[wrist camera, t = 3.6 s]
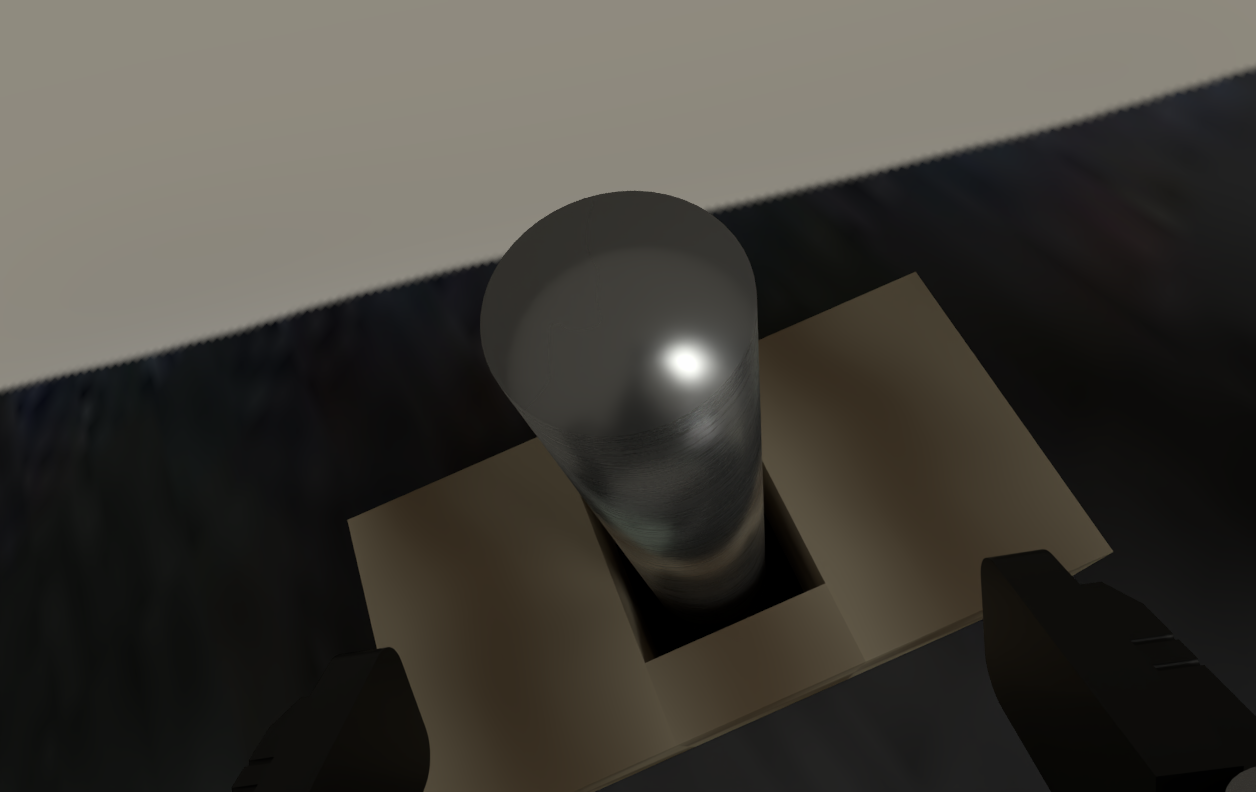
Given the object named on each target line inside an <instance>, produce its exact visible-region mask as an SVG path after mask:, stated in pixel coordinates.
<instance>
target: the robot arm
mask: <svg viewBox="0 0 1256 792" xmlns="http://www.w3.org/2000/svg"><path fill="white" fill-rule="evenodd" d="M981 591H982V608H983V625H984V642H985V656H986V663H987V668H988V672H989V676H990V680H991V683H992V686H993V689H994V692H995V694H996V697H997V699H998V701H999V703H1000V705H1001V707H1002V709H1003V710H1004V712H1005V714H1006V716H1007V717H1008V719H1009V721H1010V722H1011V724H1012V726H1013V728H1014V729H1015V731H1016V733H1017V734H1018V736H1019V738H1020V739H1021V741H1022V743H1023V745H1024V746H1025V748H1026V750H1027V751H1028V753H1029V755H1030V757H1031V758H1032V760H1033V762H1034V763H1035V765H1036V767H1037V768H1038V770H1039V772H1040V774H1041V775H1042V777H1043V779H1044V780H1045V782H1046V784H1047V786H1048V787H1049V789H1050V791H1051V792H1256V716H1255V715H1254V714H1253V713H1252V712H1251V711H1250V710H1249V709H1248V708H1247V707H1246V706H1245V705H1244V704H1243V703H1242V702H1241V701H1240V700H1239V699H1238V698H1237V697H1236V696H1235V695H1234V694H1233V693H1232V692H1231V691H1230V690H1229V689H1228V688H1227V687H1226V686H1225V685H1224V684H1223V683H1222V682H1221V681H1220V680H1219V679H1218V678H1217V677H1216V676H1215V675H1214V674H1213V673H1212V672H1211V671H1210V670H1209V669H1208V668H1207V667H1206V666H1205V665H1201V666H1200V664H1199V662H1198V658H1197V657H1196V656H1195V655H1194V654H1193V653H1192V652H1191V651H1190V650H1189V649H1188V648H1187V647H1186V646H1185V645H1184V644H1183V643H1182V642H1181V641H1180V640H1179V639H1178V640H1175V639H1174V637H1173V633H1172V632H1171V631H1170V630H1169V629H1168V628H1167V627H1166V626H1165V625H1164V624H1163V623H1162V622H1161V621H1160V620H1159V619H1158V618H1157V617H1156V616H1155V615H1154V614H1153V613H1152V612H1151V611H1150V610H1149V609H1148V608H1147V607H1146V606H1145V605H1144V604H1142V603H1140V602H1138V601H1137V600H1135V599H1133V598H1131V597H1129V596H1127V595H1125V594H1123V593H1121V592H1119V591H1118V590H1116V589H1114V588H1112V587H1110V586H1108V585H1106V584H1104V583H1102V582H1096V583H1089V584H1083V585H1080V584H1079V583H1078V582H1077V581H1076V580H1075V579H1074V578H1073V577H1072V575H1071V574H1070V573H1069V572H1068V571H1067V570H1066V569H1065V568H1064V567H1063V565H1062V564H1061V563H1060V562H1059V561H1058V560H1057V559H1056V558H1055V557H1054V556H1053V555H1052V554H1051V553H1050V552H1049V551H1048V550H1045V549H1040V550H1034V551H1027V552H1021V553H1014V554H1008V555H1001V556H994V557H988V558H984V559H983V561H982V563H981ZM429 769H430V744H429V738H428V733H427V730H426V727H425V724H424V722H423V719H422V716H421V713H420V711H419V708H418V705H417V702H416V700H415V697H414V694H413V691H412V689H411V686H410V683H409V680H408V678H407V675H406V672H405V669H404V666H403V664H402V661H401V659H400V656H399V655H398V653H397V652H396V651H395V650H394V649H393V648H391V647H386V648H379V649H372V650H366V651H359V652H353V653H346V654H340V655H337V656H335V657H334V658H333V659H332V660H331V662H330V663H329V665H328V667H327V668H326V670H325V672H324V673H323V675H322V677H321V678H320V680H319V682H318V684H317V685H316V687H315V689H314V690H313V692H312V694H311V695H310V696H309V697H302V698H300V699H299V700H298V701H297V702H296V703H295V704H294V705H293V706H292V707H291V708H290V709H289V710H288V711H286V712H285V713H284V714H283V715H282V716H281V717H280V718H279V719H278V720H277V721H276V722H275V723H274V724H273V725H272V726H271V727H270V728H269V729H268V731H267V732H266V734H265V735H264V737H263V739H262V740H261V742H260V743H259V745H258V747H257V748H256V750H255V751H254V753H253V755H252V756H251V758H250V759H249V766H248V767H244V769H243V771H242V772H241V774H240V775H239V777H238V778H237V780H236V782H235V783H234V785H233V786H232V792H424V789H425V786H426V783H427V779H428V775H429Z"/></svg>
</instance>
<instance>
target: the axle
mask: <svg viewBox="0 0 1256 792" xmlns="http://www.w3.org/2000/svg"><path fill="white" fill-rule="evenodd" d="M480 333H481V342H482V347H483V351H484V355H485V359H486V361H487V364H488V366H489V368H490V370H491V373H492V375H493V376H494V378H495V379H496V381H497V382H498V384H499V386H500V387H501V389H502V390H503V391H504V393H505V394H506V395H507V397H508V398H509V399H510V401H511V402H512V403H513V405H514V406H515V407H516V409H517V410H518V411H519V413H520V414H521V415H522V417H523V418H524V419H525V421H526V422H527V423H528V425H529V426H530V428H531V429H532V430H533V432H534V433H535V434H536V436H537V437H538V438H539V440H540V441H541V442H542V444H543V445H544V446H545V448H546V449H547V450H548V452H549V453H550V454H551V456H552V457H553V458H554V460H555V461H556V462H557V464H558V465H559V466H560V468H561V469H562V470H563V472H564V473H565V475H566V476H567V477H568V479H569V480H570V481H571V483H572V484H573V485H574V487H575V488H576V489H577V491H578V492H579V493H580V495H581V496H582V497H583V499H584V500H585V501H586V503H587V504H588V505H589V507H590V508H591V509H592V511H593V512H594V513H595V515H596V516H597V518H598V519H599V520H600V522H601V523H602V524H603V526H604V527H605V528H606V530H607V531H608V532H609V534H610V535H611V536H612V538H613V539H614V540H615V542H616V543H617V544H618V546H619V547H620V548H621V550H622V551H623V552H624V554H625V555H626V556H627V558H628V559H629V561H630V562H631V563H632V565H633V566H634V567H635V569H636V570H637V571H638V573H639V574H640V575H641V577H642V578H643V579H644V581H645V582H646V583H647V585H648V586H649V587H650V589H651V590H652V591H653V593H654V594H655V595H656V597H657V598H658V599H659V601H660V602H661V603H662V605H663V606H664V608H665V609H666V610H667V611H668V612H669V614H670V615H671V616H673V617H674V618H675V619H676V620H677V621H679V622H680V623H682V624H684V625H686V626H688V627H690V628H693V629H696V630H701V631H719V630H721V629H723V628H726V627H728V626H730V625H732V624H735V623H737V622H739V621H741V620H744V619H746V618H747V617H748V616H749V615H750V614H751V613H752V612H753V611H754V610H755V608H756V607H757V605H758V604H759V602H760V600H761V598H762V595H763V592H764V588H765V582H766V562H765V532H764V501H763V470H762V440H761V409H760V378H759V348H758V317H757V292H756V285H755V278H754V274H753V271H752V268H751V264H750V262H749V260H748V257H747V255H746V253H745V251H744V249H743V248H742V246H741V245H740V243H739V242H738V240H737V239H736V237H735V236H734V235H733V234H732V233H731V232H730V230H729V229H728V228H727V227H726V226H725V225H724V224H723V223H722V222H720V221H719V220H718V219H717V218H715V217H714V216H713V215H712V214H710V213H708V212H707V211H705V210H703V209H702V208H700V207H698V206H697V205H694V204H692V203H690V202H687V201H685V200H683V199H680V198H676V197H673V196H669V195H666V194H660V193H654V192H643V191H623V192H612V193H605V194H600V195H596V196H592V197H588V198H584V199H582V200H579V201H576V202H574V203H571V204H568V205H566V206H564V207H562V208H560V209H558V210H556V211H554V212H552V213H551V214H549V215H548V216H546V217H544V218H543V219H541V220H540V221H538V222H537V223H536V224H534V225H533V226H532V227H531V228H529V229H528V230H527V231H526V232H525V233H524V234H523V235H522V236H521V237H520V238H519V239H518V240H517V241H516V242H515V243H514V244H513V245H512V246H511V247H510V249H509V250H508V251H507V252H506V253H505V255H504V256H503V258H502V259H501V261H500V262H499V264H498V266H497V267H496V269H495V271H494V273H493V275H492V277H491V279H490V281H489V283H488V286H487V289H486V292H485V295H484V299H483V304H482V310H481V319H480Z"/></svg>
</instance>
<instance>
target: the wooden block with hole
mask: <svg viewBox="0 0 1256 792" xmlns="http://www.w3.org/2000/svg"><path fill="white" fill-rule="evenodd" d="M758 348H759V378H760V409H761V440H762V470H763V501H764V513H765V515H766V517H767V519H768V521H769V523H770V525H771V527H772V529H773V531H774V533H775V535H776V537H777V539H778V541H779V543H780V545H781V547H782V549H783V551H784V553H785V555H786V557H787V559H788V561H789V563H790V565H791V567H792V569H793V571H794V573H795V575H796V577H797V579H798V581H799V583H800V585H801V587H802V589H803V591H804V593H802V594H800V595H798V596H796V597H793V598H791V599H789V600H787V601H784V602H782V603H780V604H778V605H775V606H773V607H771V608H769V609H766V610H764V611H762V612H760V613H757V614H755V615H753V616H750V617H748V618H746V619H744V620H741V621H739V622H737V623H735V624H732V625H730V626H728V627H726V628H723V629H721V630H719V631H717V632H714V633H712V634H710V635H707V636H705V637H703V638H701V639H698V640H696V641H694V642H692V643H689V644H687V645H685V646H683V647H680V648H678V649H676V650H674V651H671V652H669V653H667V654H665V655H662V656H659V654H658V651H657V649H656V646H655V643H654V641H653V638H652V636H651V633H650V631H649V628H648V626H647V623H646V621H645V618H644V616H643V613H642V611H641V608H640V606H639V603H638V600H637V598H636V595H635V593H634V590H633V588H632V585H631V583H630V580H629V578H628V575H627V573H626V570H625V568H624V565H623V563H622V560H621V557H620V555H619V552H618V550H617V547H616V545H615V542H614V540H613V538H612V536H611V535H610V534H609V532H608V531H607V530H606V528H605V527H604V526H603V524H602V523H601V522H600V520H599V519H598V518H597V516H596V515H595V513H594V512H593V511H592V509H591V508H590V507H589V505H588V504H587V503H586V501H585V500H584V499H583V497H582V496H581V495H580V493H579V492H578V491H577V489H576V488H575V487H574V485H573V484H572V483H571V481H570V480H569V479H568V477H567V476H566V475H565V473H564V472H563V470H562V469H561V468H560V466H559V465H558V464H557V462H556V461H555V460H554V458H553V457H552V456H551V454H550V453H549V452H548V450H547V449H546V448H545V446H544V445H543V444H542V442H541V441H540V440H539V438H538V437H536V438H534V439H532V440H529V441H527V442H525V443H522V444H520V445H518V446H516V447H513V448H511V449H509V450H506V451H504V452H502V453H500V454H497V455H495V456H493V457H490V458H488V459H486V460H484V461H481V462H479V463H477V464H474V465H472V466H470V467H468V468H465V469H463V470H461V471H458V472H456V473H454V474H452V475H449V476H447V477H445V478H442V479H440V480H438V481H436V482H433V483H431V484H429V485H426V486H424V487H422V488H419V489H417V490H415V491H413V492H410V493H408V494H406V495H403V496H401V497H399V498H397V499H394V500H392V501H390V502H387V503H385V504H383V505H381V506H378V507H376V508H374V509H371V510H369V511H367V512H365V513H362V514H360V515H358V516H355V517H353V518H351V519H349V520H347V521H348V525H349V529H350V534H351V538H352V542H353V547H354V551H355V555H356V560H357V564H358V568H359V573H360V577H361V581H362V586H363V590H364V594H365V599H366V603H367V608H368V612H369V616H370V621H371V625H372V629H373V634H374V638H375V642H376V647H377V649H379V648H386V647H391V648H393V649H394V650H395V651H396V652H397V653H398V655H399V656H400V659H401V661H402V664H403V666H404V669H405V672H406V675H407V678H408V680H409V683H410V686H411V689H412V691H413V694H414V697H415V700H416V702H417V705H418V708H419V711H420V713H421V716H422V719H423V722H424V724H425V727H426V730H427V733H428V738H429V744H430V769H429V775H428V779H427V783H426V786H425V789H424V792H595V791H597V790H599V789H602V788H604V787H606V786H608V785H611V784H613V783H615V782H617V781H620V780H622V779H624V778H626V777H629V776H631V775H633V774H635V773H638V772H640V771H642V770H644V769H647V768H649V767H651V766H653V765H656V764H658V763H660V762H662V761H665V760H667V759H669V758H671V757H674V756H676V755H678V754H680V753H683V752H685V751H687V750H689V749H692V748H694V747H696V746H698V745H701V744H703V743H705V742H707V741H710V740H712V739H714V738H716V737H719V736H721V735H723V734H725V733H728V732H730V731H732V730H734V729H737V728H739V727H741V726H743V725H746V724H748V723H750V722H752V721H755V720H757V719H759V718H761V717H764V716H766V715H768V714H770V713H773V712H775V711H777V710H779V709H782V708H784V707H786V706H788V705H791V704H793V703H795V702H797V701H800V700H802V699H804V698H806V697H809V696H811V695H813V694H815V693H818V692H820V691H822V690H824V689H827V688H829V687H831V686H833V685H836V684H838V683H840V682H842V681H845V680H847V679H849V678H851V677H854V676H856V675H858V674H860V673H863V672H865V671H867V670H869V669H872V668H874V667H876V666H878V665H881V664H883V663H885V662H887V661H890V660H892V659H894V658H897V657H899V656H901V655H903V654H906V653H908V652H910V651H912V650H915V649H917V648H919V647H921V646H924V645H926V644H928V643H930V642H933V641H935V640H937V639H939V638H942V637H944V636H946V635H948V634H951V633H953V632H955V631H957V630H960V629H962V628H964V627H966V626H969V625H971V624H973V623H975V622H978V621H980V620H982V619H983V608H982V591H981V563H982V561H983V559H984V558H988V557H994V556H1001V555H1008V554H1014V553H1021V552H1027V551H1034V550H1040V549H1045V550H1048V551H1049V552H1050V553H1051V554H1052V555H1053V556H1054V557H1055V558H1056V559H1057V560H1058V561H1059V562H1060V563H1061V564H1062V565H1063V567H1064V568H1065V569H1066V570H1067V571H1068V572H1069V573H1070V574H1071V575H1072V576H1073V575H1075V574H1076V573H1078V572H1080V571H1081V570H1083V569H1085V568H1086V567H1088V566H1090V565H1092V564H1093V563H1095V562H1097V561H1098V560H1100V559H1102V558H1104V557H1105V556H1107V555H1109V554H1110V553H1112V552H1113V551H1112V549H1111V548H1110V546H1109V545H1108V543H1107V542H1106V541H1105V539H1104V538H1103V536H1102V535H1101V534H1100V532H1099V531H1098V529H1097V528H1096V526H1095V525H1094V524H1093V522H1092V521H1091V519H1090V518H1089V517H1088V515H1087V514H1086V512H1085V511H1084V509H1083V508H1082V507H1081V505H1080V504H1079V502H1078V501H1077V500H1076V498H1075V497H1074V495H1073V494H1072V492H1071V491H1070V490H1069V488H1068V487H1067V485H1066V484H1065V483H1064V481H1063V480H1062V478H1061V477H1060V475H1059V474H1058V473H1057V471H1056V470H1055V468H1054V467H1053V466H1052V464H1051V463H1050V461H1049V460H1048V458H1047V457H1046V456H1045V454H1044V453H1043V451H1042V450H1041V449H1040V447H1039V446H1038V444H1037V443H1036V441H1035V440H1034V439H1033V437H1032V436H1031V434H1030V433H1029V432H1028V430H1027V429H1026V427H1025V426H1024V424H1023V423H1022V422H1021V420H1020V419H1019V417H1018V416H1017V415H1016V413H1015V412H1014V410H1013V409H1012V407H1011V406H1010V405H1009V403H1008V402H1007V400H1006V399H1005V398H1004V396H1003V395H1002V393H1001V392H1000V390H999V389H998V388H997V386H996V385H995V383H994V382H993V381H992V379H991V378H990V376H989V375H988V373H987V372H986V371H985V369H984V368H983V366H982V365H981V364H980V362H979V361H978V359H977V358H976V357H975V355H974V354H973V352H972V351H971V349H970V348H969V347H968V345H967V344H966V342H965V341H964V340H963V338H962V337H961V335H960V334H959V332H958V331H957V330H956V328H955V327H954V325H953V324H952V323H951V321H950V320H949V318H948V317H947V315H946V314H945V313H944V311H943V310H942V308H941V307H940V306H939V304H938V303H937V301H936V300H935V298H934V297H933V296H932V294H931V293H930V291H929V290H928V289H927V287H926V286H925V284H924V283H923V281H922V280H921V279H920V277H919V276H918V274H917V273H916V272H914V273H911V274H909V275H907V276H905V277H902V278H900V279H898V280H895V281H893V282H891V283H889V284H886V285H884V286H882V287H879V288H877V289H875V290H873V291H870V292H868V293H866V294H863V295H861V296H859V297H856V298H854V299H852V300H850V301H847V302H845V303H843V304H840V305H838V306H836V307H834V308H831V309H829V310H827V311H824V312H822V313H820V314H818V315H815V316H813V317H811V318H808V319H806V320H804V321H802V322H799V323H797V324H795V325H792V326H790V327H788V328H786V329H783V330H781V331H779V332H776V333H774V334H772V335H770V336H767V337H765V338H763V339H760V340H758Z"/></svg>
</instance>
